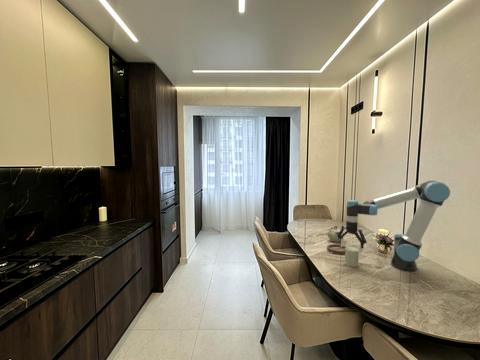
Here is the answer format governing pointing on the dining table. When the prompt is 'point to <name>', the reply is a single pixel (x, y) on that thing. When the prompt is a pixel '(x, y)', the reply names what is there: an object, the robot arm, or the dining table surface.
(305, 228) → the dining table surface
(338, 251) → the trivet
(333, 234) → the sugar bowl
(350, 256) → the grey-green tapered block
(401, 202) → the robot arm
